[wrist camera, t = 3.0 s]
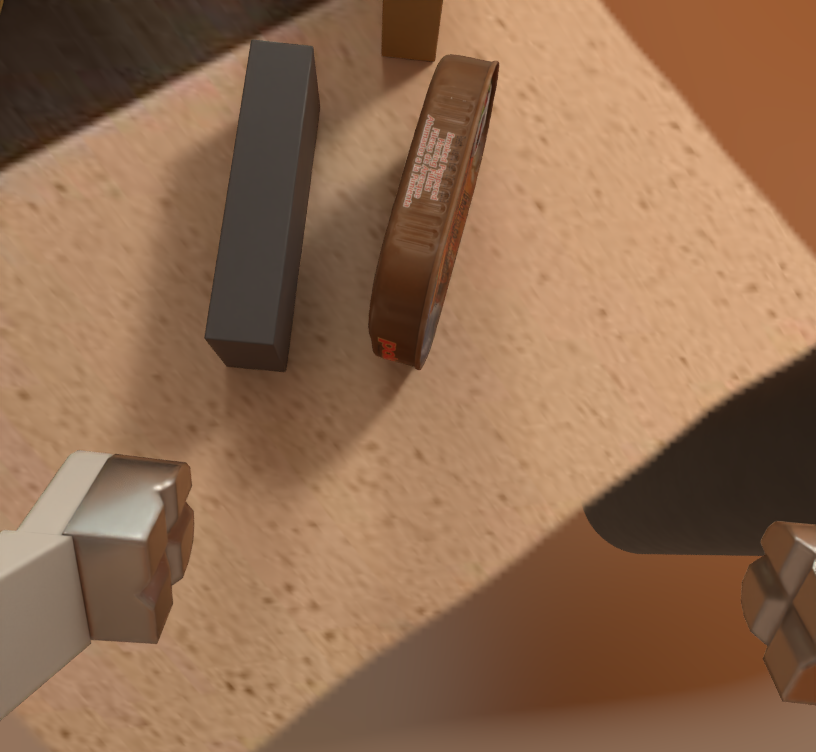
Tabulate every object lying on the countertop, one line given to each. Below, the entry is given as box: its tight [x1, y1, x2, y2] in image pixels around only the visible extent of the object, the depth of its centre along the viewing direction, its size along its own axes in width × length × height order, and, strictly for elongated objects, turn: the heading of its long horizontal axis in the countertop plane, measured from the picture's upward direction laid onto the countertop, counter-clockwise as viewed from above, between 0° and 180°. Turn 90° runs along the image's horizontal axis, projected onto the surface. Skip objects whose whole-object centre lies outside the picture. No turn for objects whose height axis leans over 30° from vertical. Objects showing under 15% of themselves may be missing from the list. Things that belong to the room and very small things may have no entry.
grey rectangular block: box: [205, 40, 320, 372], centre depth 36 cm, size 3×15×5 cm, turn 175°
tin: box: [368, 54, 499, 370], centre depth 34 cm, size 15×3×8 cm, turn 165°
